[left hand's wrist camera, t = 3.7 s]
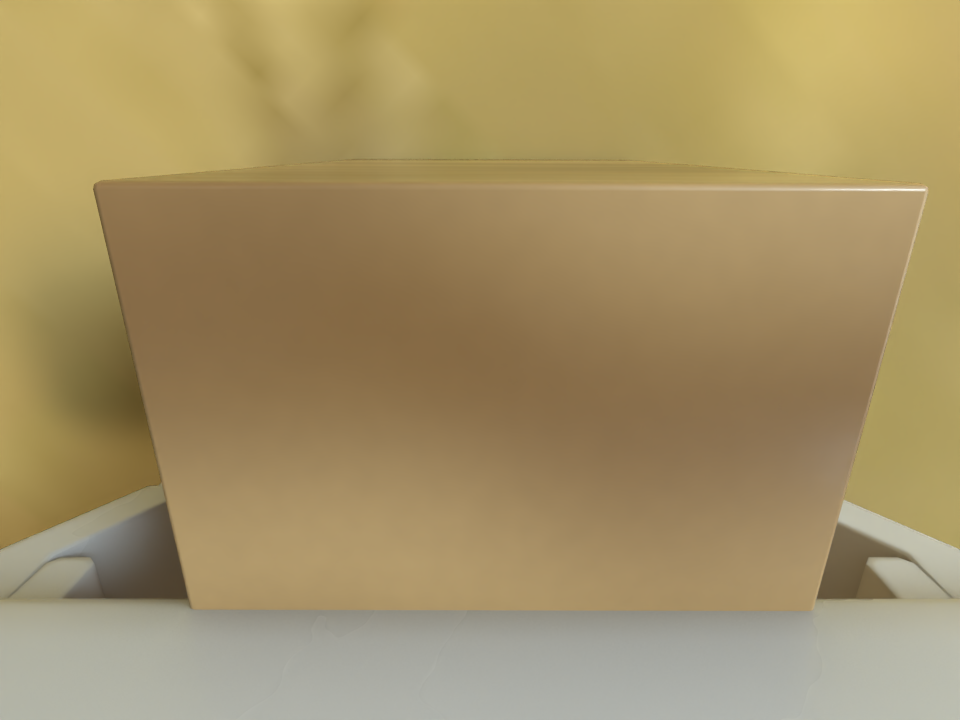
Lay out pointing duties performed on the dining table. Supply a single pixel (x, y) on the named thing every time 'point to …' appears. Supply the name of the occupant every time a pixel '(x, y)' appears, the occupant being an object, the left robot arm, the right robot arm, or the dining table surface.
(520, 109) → the dining table surface
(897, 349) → the dining table surface
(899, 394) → the dining table surface
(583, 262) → the block
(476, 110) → the dining table surface
